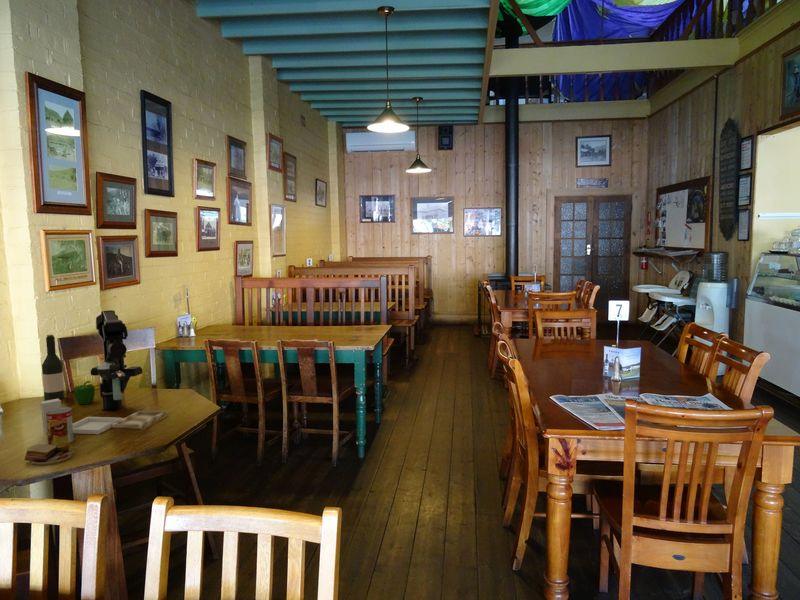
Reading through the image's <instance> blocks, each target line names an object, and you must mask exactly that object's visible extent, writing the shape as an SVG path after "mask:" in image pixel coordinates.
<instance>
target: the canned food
mask: <svg viewBox="0 0 800 600" xmlns="http://www.w3.org/2000/svg"><path fill="white" fill-rule="evenodd" d="M46 420H47V433H46V434H47V443H48V444H50V445H55V446H63V445H67V444H69V443H71V442H74V433H73V409H72V408H71V407H69V406H63V407H62V406H61V407H60V408H54V409H50V410H48V411H46Z"/></svg>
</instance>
